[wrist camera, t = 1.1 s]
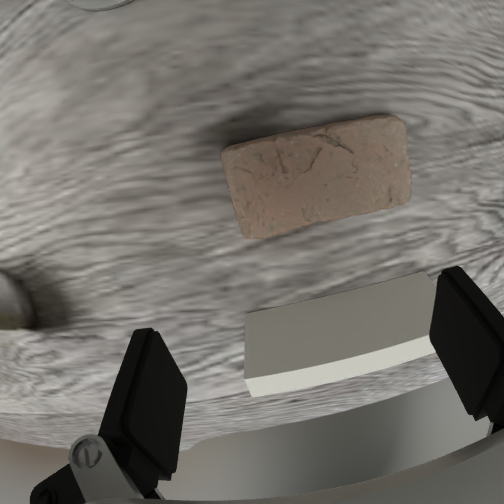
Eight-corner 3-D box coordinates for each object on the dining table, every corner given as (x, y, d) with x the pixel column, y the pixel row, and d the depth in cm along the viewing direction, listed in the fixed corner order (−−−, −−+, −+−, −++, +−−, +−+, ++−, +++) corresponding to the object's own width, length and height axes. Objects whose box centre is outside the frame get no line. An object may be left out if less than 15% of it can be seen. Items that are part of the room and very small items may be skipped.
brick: (388, 110, 27) (410, 114, 23) (399, 190, 31) (418, 206, 26) (220, 144, 29) (215, 153, 25) (244, 224, 33) (242, 245, 28)
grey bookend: (245, 313, 37) (244, 379, 28) (423, 270, 35) (462, 322, 26) (260, 356, 41) (262, 419, 32) (420, 317, 38) (451, 370, 29)
